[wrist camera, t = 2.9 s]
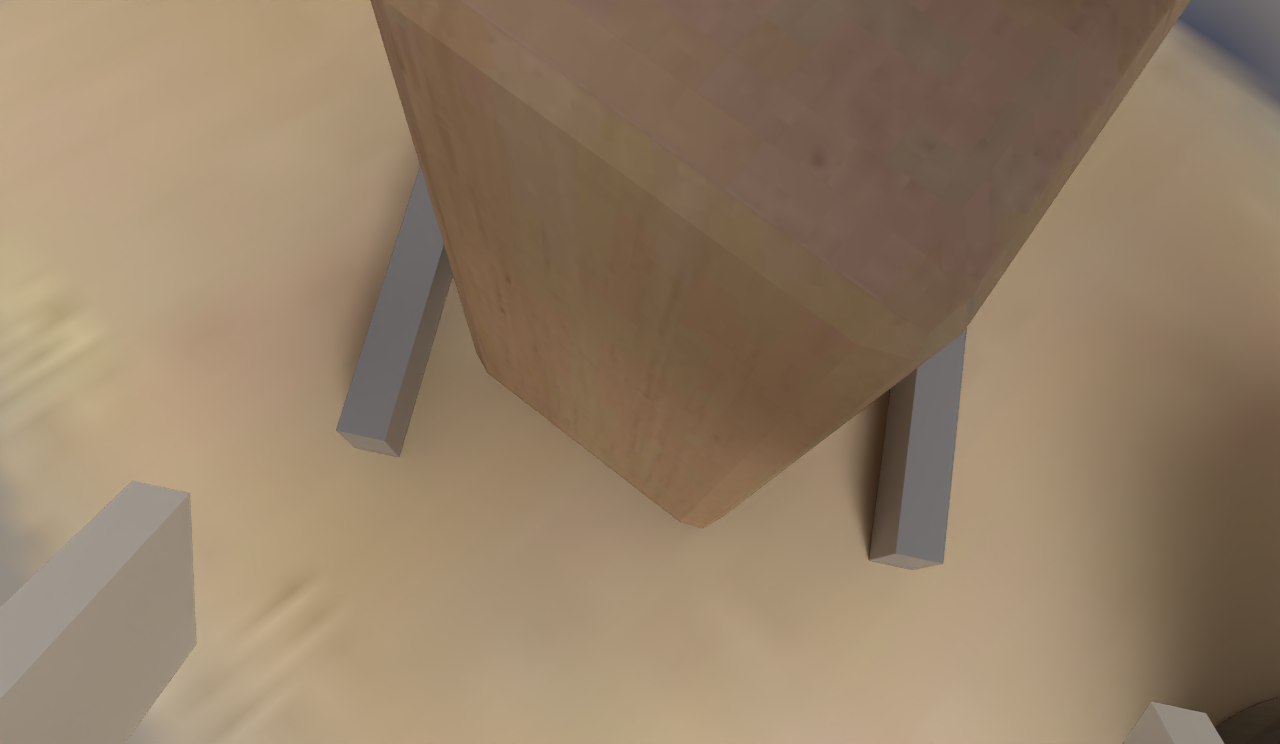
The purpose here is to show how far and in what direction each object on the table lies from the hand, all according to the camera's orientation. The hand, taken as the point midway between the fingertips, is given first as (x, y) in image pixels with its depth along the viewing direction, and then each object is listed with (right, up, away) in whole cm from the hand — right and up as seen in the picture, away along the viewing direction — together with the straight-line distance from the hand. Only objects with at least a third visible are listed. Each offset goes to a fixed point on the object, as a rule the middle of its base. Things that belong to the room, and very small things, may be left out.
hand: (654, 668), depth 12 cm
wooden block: (+1, +5, +19) cm, 20 cm away
